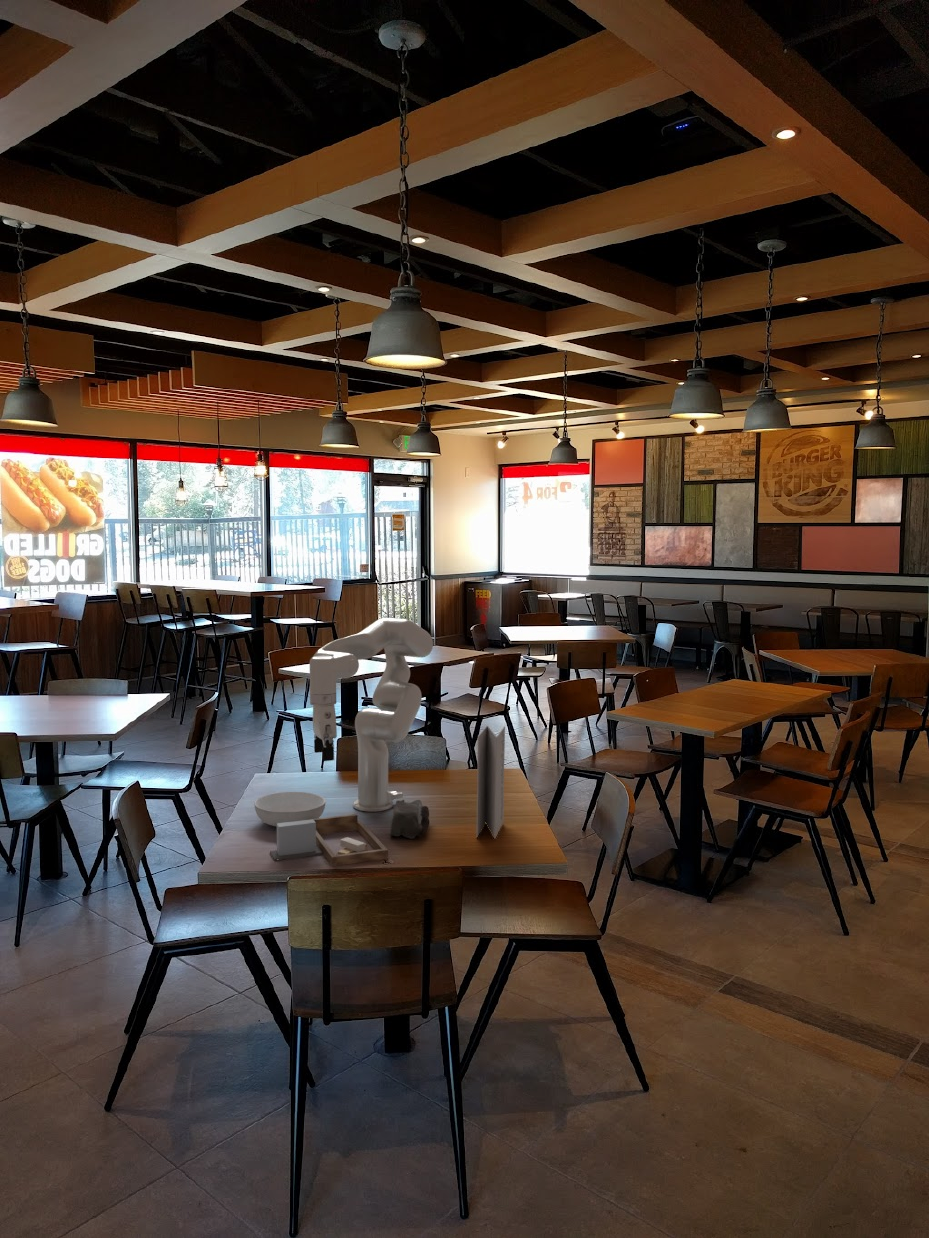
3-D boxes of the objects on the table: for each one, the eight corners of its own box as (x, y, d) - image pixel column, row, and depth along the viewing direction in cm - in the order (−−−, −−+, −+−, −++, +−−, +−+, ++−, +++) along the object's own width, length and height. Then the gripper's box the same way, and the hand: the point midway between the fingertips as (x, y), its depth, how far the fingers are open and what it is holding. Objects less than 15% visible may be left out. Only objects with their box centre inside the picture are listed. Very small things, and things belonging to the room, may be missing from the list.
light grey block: (313, 847, 250) (313, 819, 249) (315, 851, 247) (315, 822, 246) (276, 852, 246) (276, 823, 245) (279, 855, 243) (278, 826, 242)
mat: (317, 847, 252) (317, 845, 252) (322, 854, 246) (322, 852, 246) (270, 853, 247) (270, 851, 246) (274, 860, 241) (274, 858, 241)
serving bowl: (330, 831, 265) (330, 808, 264) (257, 837, 259) (256, 814, 258) (320, 810, 285) (320, 788, 284) (252, 815, 279) (252, 793, 278)
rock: (428, 843, 256) (429, 815, 256) (389, 843, 256) (389, 815, 255) (430, 822, 275) (430, 796, 274) (392, 822, 274) (392, 796, 274)
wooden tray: (360, 828, 268) (360, 813, 267) (388, 858, 244) (388, 842, 243) (308, 834, 262) (308, 819, 261) (332, 866, 238) (332, 849, 237)
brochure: (495, 840, 259) (497, 737, 256) (476, 838, 260) (477, 736, 257) (503, 824, 273) (504, 726, 270) (485, 822, 274) (486, 725, 271)
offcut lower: (358, 849, 252) (358, 841, 251) (366, 851, 250) (366, 843, 250) (337, 859, 244) (337, 851, 244) (346, 861, 242) (346, 853, 242)
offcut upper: (340, 845, 248) (340, 839, 248) (347, 843, 250) (347, 837, 250) (358, 852, 244) (358, 845, 243) (365, 849, 246) (365, 843, 245)
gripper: (343, 703, 256) (344, 762, 258) (328, 692, 272) (329, 747, 274) (317, 705, 253) (318, 765, 255) (303, 693, 269) (304, 750, 271)
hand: (324, 756), depth 264 cm, fingers open, 9 cm apart
